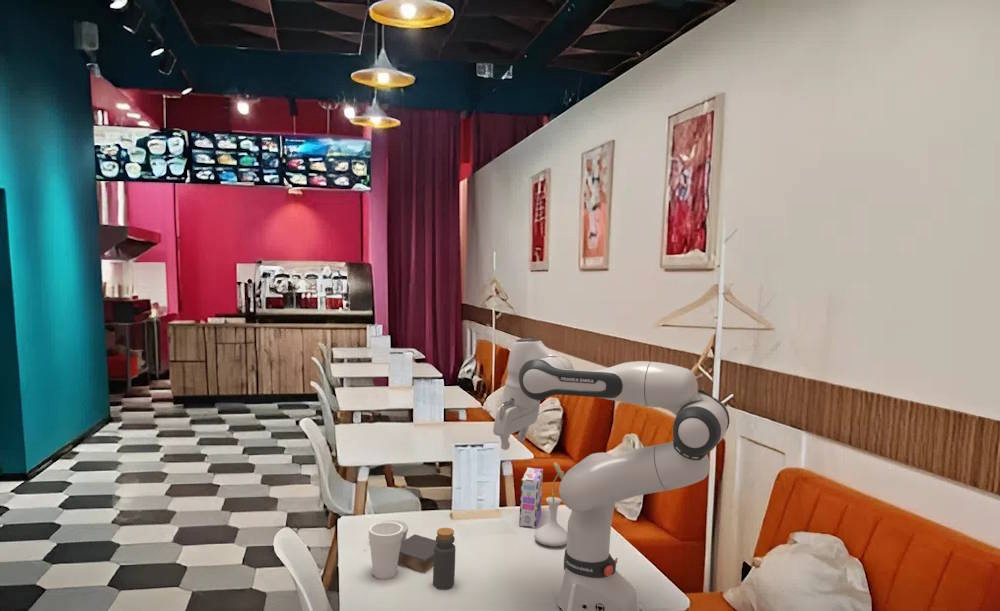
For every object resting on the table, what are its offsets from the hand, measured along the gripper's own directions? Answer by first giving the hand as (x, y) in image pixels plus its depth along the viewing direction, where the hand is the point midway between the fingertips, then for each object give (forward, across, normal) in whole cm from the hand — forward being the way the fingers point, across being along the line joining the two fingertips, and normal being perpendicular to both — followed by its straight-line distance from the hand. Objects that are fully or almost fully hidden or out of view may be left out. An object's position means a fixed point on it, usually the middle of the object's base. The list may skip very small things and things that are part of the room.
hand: (513, 444), depth 175 cm
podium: (+41, -3, +24) cm, 48 cm away
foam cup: (+42, -15, +27) cm, 52 cm away
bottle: (+40, -11, +10) cm, 43 cm away
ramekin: (+43, +1, +38) cm, 57 cm away
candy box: (+40, +42, +9) cm, 59 cm away
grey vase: (+39, +31, -4) cm, 50 cm away
